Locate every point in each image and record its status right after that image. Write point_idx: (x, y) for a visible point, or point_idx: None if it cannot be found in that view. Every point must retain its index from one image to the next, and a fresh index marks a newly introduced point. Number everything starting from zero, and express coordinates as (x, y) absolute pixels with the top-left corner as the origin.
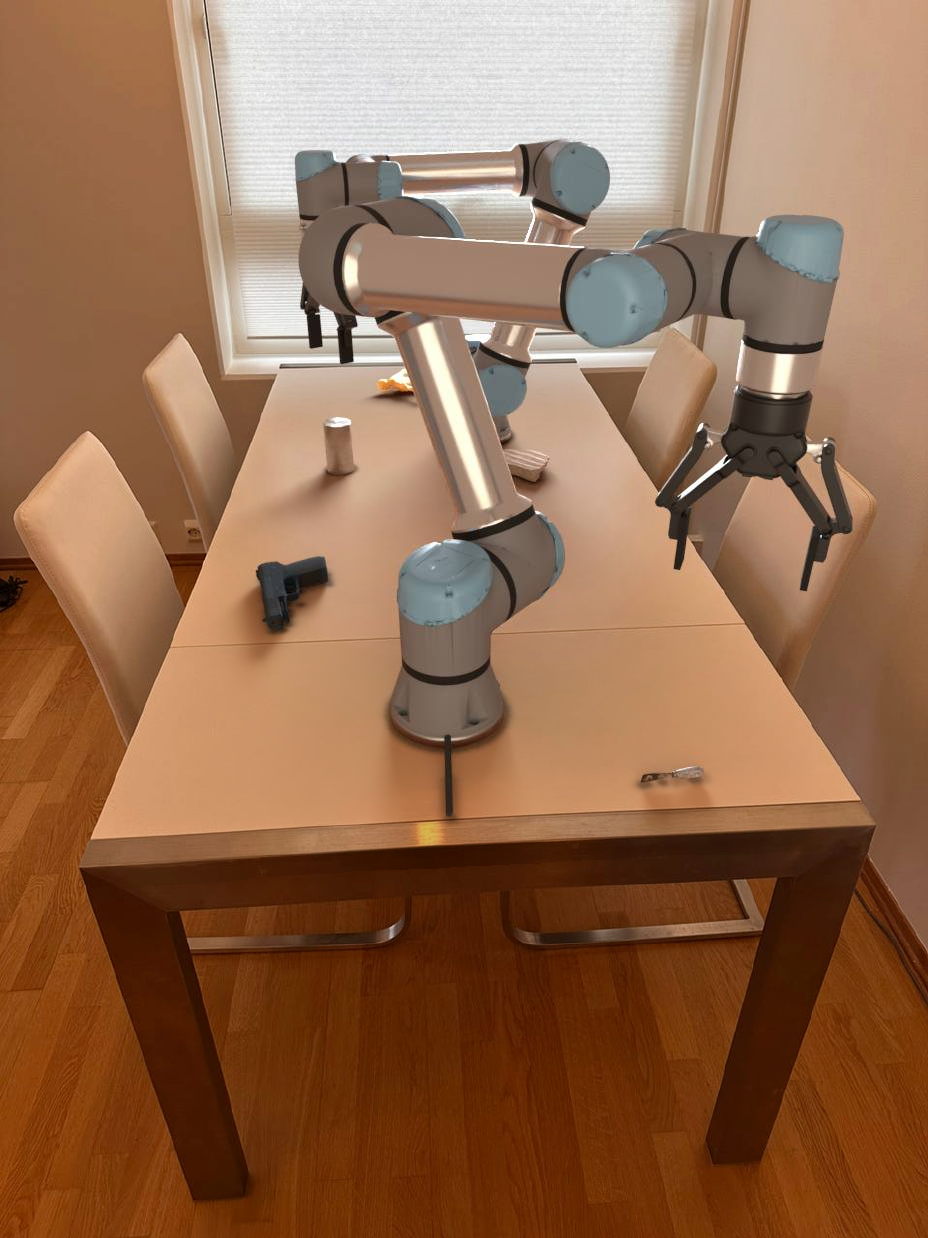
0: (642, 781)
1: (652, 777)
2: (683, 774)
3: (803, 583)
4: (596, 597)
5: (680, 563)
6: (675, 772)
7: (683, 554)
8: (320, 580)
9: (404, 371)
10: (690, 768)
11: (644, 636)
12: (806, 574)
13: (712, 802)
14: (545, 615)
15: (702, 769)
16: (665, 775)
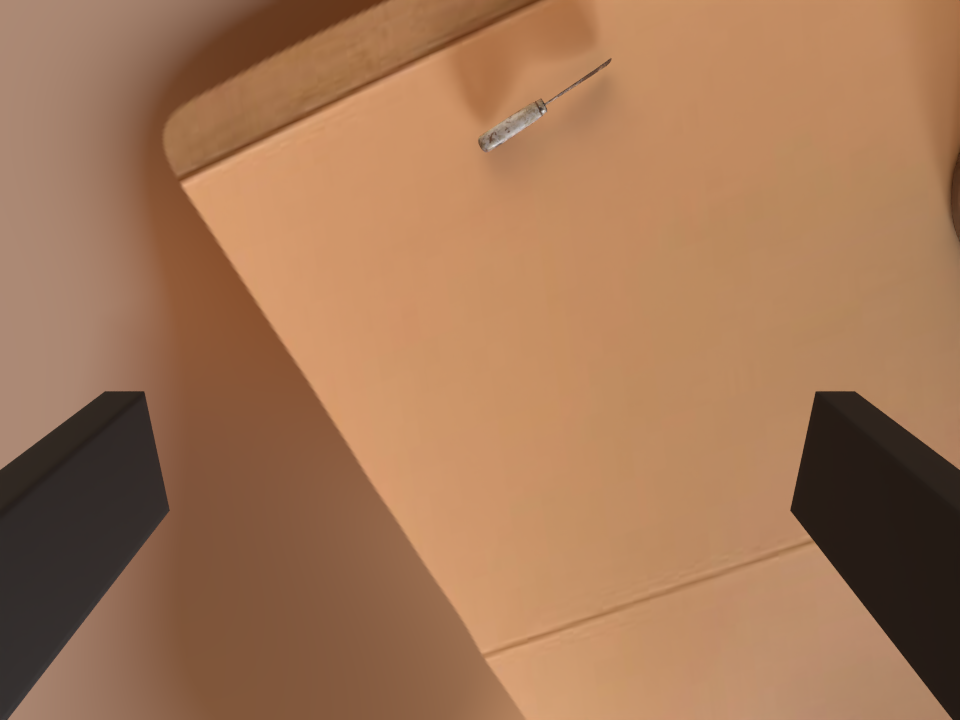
0: (606, 64)
1: (586, 77)
2: (520, 110)
3: (107, 413)
4: (770, 660)
5: (842, 411)
6: (538, 106)
7: (837, 491)
8: None
9: None
10: (508, 129)
11: (657, 567)
12: (61, 441)
13: (446, 65)
14: None
15: (481, 141)
16: (559, 95)
